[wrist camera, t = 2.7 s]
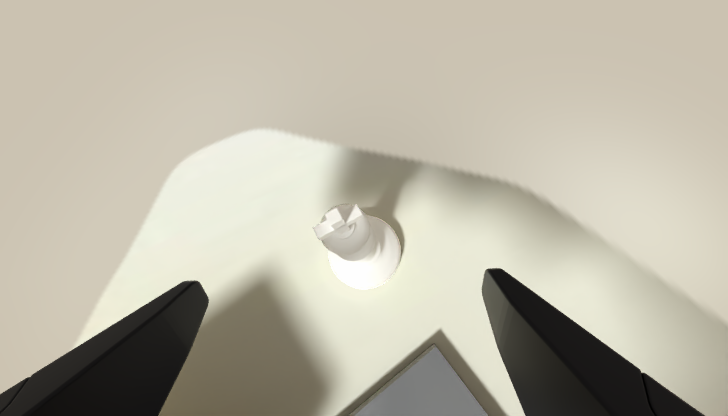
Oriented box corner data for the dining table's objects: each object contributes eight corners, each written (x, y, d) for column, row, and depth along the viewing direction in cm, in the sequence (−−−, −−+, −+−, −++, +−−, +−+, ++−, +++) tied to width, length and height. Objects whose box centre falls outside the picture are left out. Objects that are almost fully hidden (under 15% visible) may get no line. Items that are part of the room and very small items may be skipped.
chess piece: (317, 237, 18) (237, 189, 9) (378, 204, 19) (365, 121, 9) (349, 303, 17) (294, 331, 7) (414, 266, 17) (444, 247, 8)
